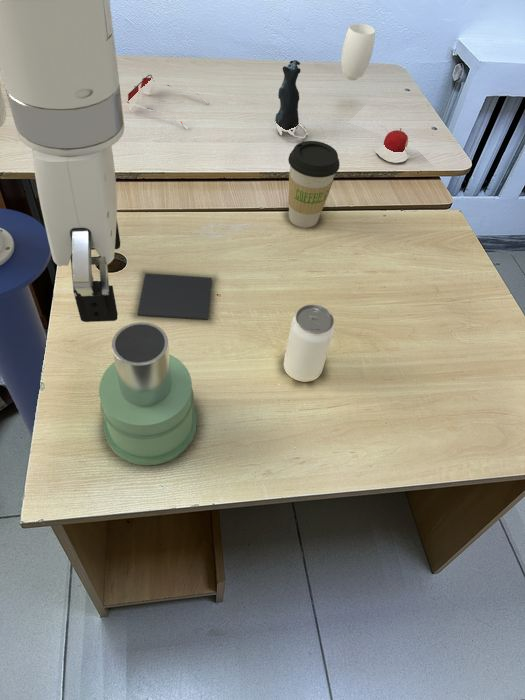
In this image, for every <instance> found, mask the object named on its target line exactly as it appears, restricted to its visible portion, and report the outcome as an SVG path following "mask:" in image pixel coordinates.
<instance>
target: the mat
mask: <svg viewBox="0 0 525 700" xmlns="http://www.w3.org/2000/svg"><path fill="white" fill-rule="evenodd" d="M212 279H213V278H212V277H208V276H207V277H206V276H192V275H191V276H190V275H189V276H188V275H177V274H161V273H148V272H147V273H145V274H144V278H143V284H142V288H141V293H140V299H139V303H138V309H137V316H139V317H155V318H168V319H169V318H171V319H187V320H188V319H189V320H204V321H208V320H209V315H210V305H211V303H210V302H211V292H212V290H211V289H212Z"/></svg>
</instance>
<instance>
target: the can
mask: <svg viewBox="0 0 525 700" xmlns="http://www.w3.org/2000/svg"><path fill="white" fill-rule="evenodd" d="M334 333H335V319H334V316H333V314H332V313H331V311H330V310H328V309H327V308H325V307H324V306H322V305H319V304H306V305H303V306H302V307H300V308H299V309H298V310H297V311H296V313H295V315H294V316H293V318H292V320H291V323H290V328H289V333H288V338H287V343H286V348H285V353H284V359H283V370H284V371H285V372H286V374H287V375H288V377H290V378H292V379H293V380H295V381H298V382H304V383H305V382H306V383H308V382H312V381H315V380H317V379H318V378H319V377H320V376H321V374H322V372H323V371H324V366H325V364H326V360H327V357H328V353H329V351H330V348H331V347H330V346H331V343H332V341H333V338H334Z"/></svg>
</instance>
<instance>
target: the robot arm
mask: <svg viewBox="0 0 525 700" xmlns="http://www.w3.org/2000/svg"><path fill="white" fill-rule="evenodd" d="M116 51H117V50H116V43H115V35H114V25H113V17H112V9H111V1H110V0H0V76H1V80H2V83H3V86H4V91H5V94H6V97H7V101H8V104H9V108H10V112H11V115H12V117H13V118H12V119H13V121H14V125H15V129H16V133H17V136H18V137H19V140H20V141H21V142H22V143H23V144H24V145H25V146H26V147H28V148H30V149H31V150H32V151H31V152H32V161H33V170H34V176H35V183H36V188H37V194H38V200H39V205H40V210H41V214H42V218H43V224H44V228H45V229H46V232H47V236H48V241H49V245H50V250H51V258H52V261H53V262H54V264H55V265H57V266H58V267H62V266H63V267H69V264H70V269H71V279H72V289H73V290H72V292H73V296H74V299H75V303H76V307H77V311H78V315H79V318H80V321H81V322H84V323H96V322H100V323H101V322H116V321H117V320H118V314H119V313H118V309H117V303H116V298H115V297H116V296H115V291H114V286H113V285H110V282H109V270H108V269H109V268H108V265H110V264H111V263H112V262H113V260H114V259H115V253H116V250H118V249H120V248H121V238H120V237H121V236H120V231H119V224H118V193H117V192H118V191H117V188H118V187H117V178H116V169H115V160H114V153H113V152H114V151H113V145H115V144H116V143H117V142H119V140H120V139H121V138H122V137H123V135H124V132H125V121H124V110H123V102H122V94H121V86H120V79H119V78H120V77H119V69H118V68H119V67H118V60H117V52H116ZM6 119H7V108H6V102H5V98H4V93H3V89H2V84H1V83H0V128H1V127H2V126H4V124H5V122H6ZM14 247H15V246H14V241H13V238H12V236H11V235H10V234H9V233H8V232H7V231H6V230H4V229H2V228H0V265H2V264H4V263H5V262H6V261H7V260H8V259H9V258H10V257H11V256H12V254H13V252H14ZM92 250H93V251H96V252H97V254H98V255H99V256H92ZM92 265H95V266H96V265H98V268H99V280H94V276H93V269H92Z"/></svg>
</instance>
